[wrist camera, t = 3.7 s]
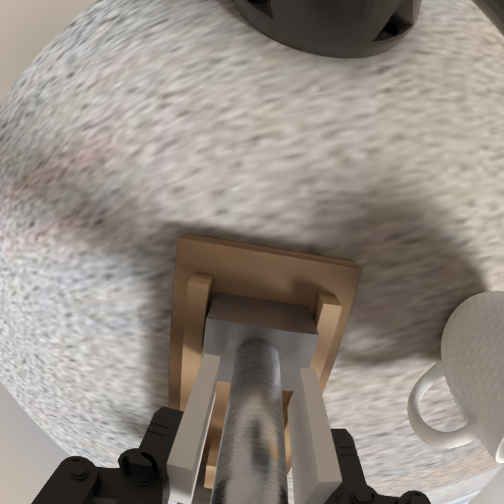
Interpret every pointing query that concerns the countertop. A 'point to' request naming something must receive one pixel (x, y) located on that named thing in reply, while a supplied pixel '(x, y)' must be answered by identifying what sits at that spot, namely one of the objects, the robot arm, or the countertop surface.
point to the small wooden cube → (212, 460)
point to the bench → (255, 286)
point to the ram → (256, 391)
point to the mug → (469, 375)
